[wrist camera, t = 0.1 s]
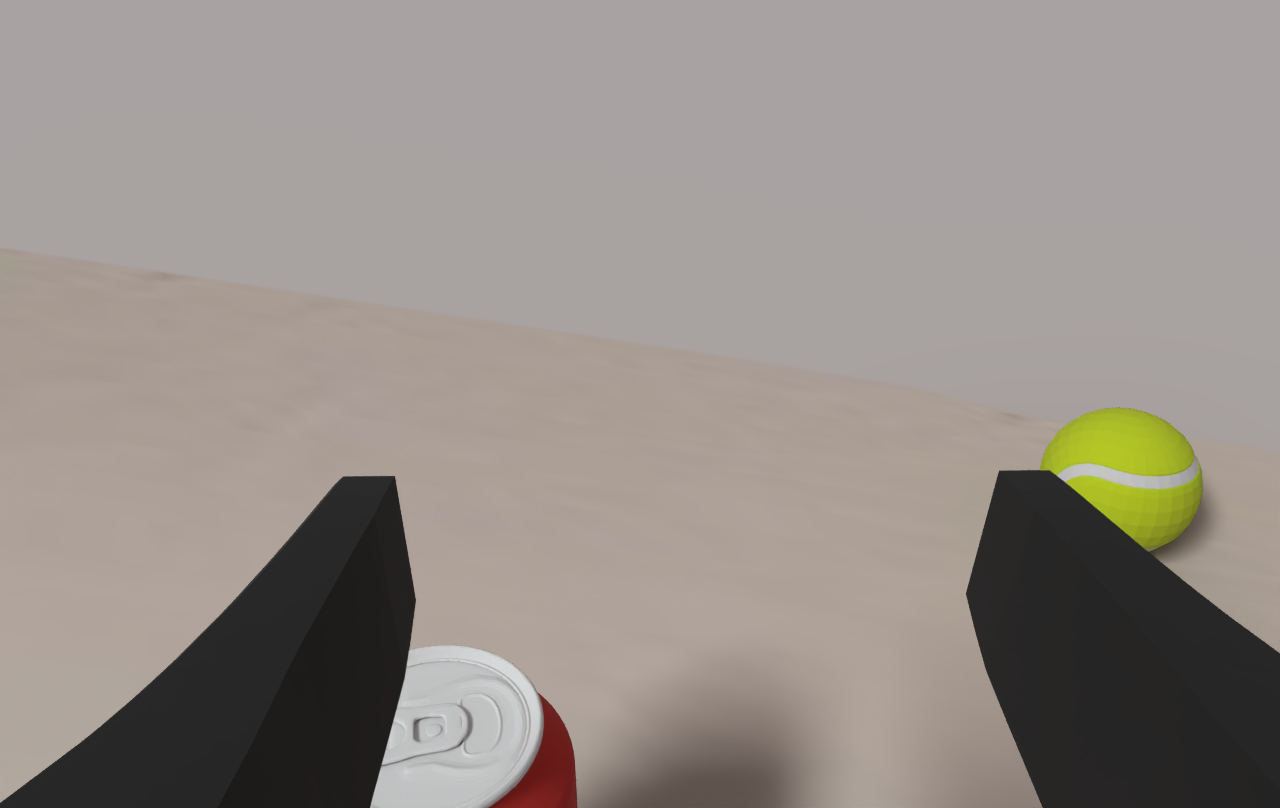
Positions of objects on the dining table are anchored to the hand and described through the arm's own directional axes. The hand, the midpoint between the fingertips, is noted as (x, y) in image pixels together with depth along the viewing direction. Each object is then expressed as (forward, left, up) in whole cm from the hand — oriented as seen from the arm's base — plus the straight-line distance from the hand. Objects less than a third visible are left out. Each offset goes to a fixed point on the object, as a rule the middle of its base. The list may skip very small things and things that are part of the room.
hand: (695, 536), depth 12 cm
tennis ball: (+27, -22, -22) cm, 41 cm away
